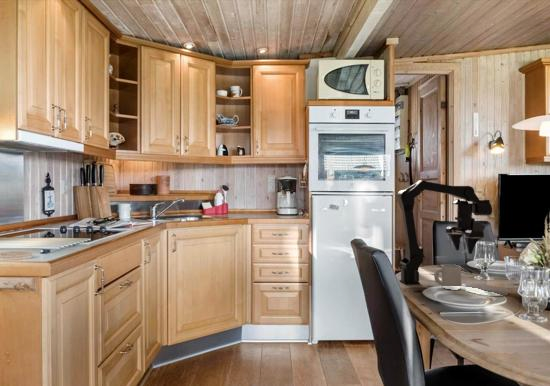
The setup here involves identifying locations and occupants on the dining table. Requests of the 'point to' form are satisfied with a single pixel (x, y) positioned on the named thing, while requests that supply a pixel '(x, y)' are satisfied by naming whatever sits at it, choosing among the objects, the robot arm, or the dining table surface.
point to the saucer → (491, 289)
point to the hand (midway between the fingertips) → (463, 252)
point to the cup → (449, 275)
